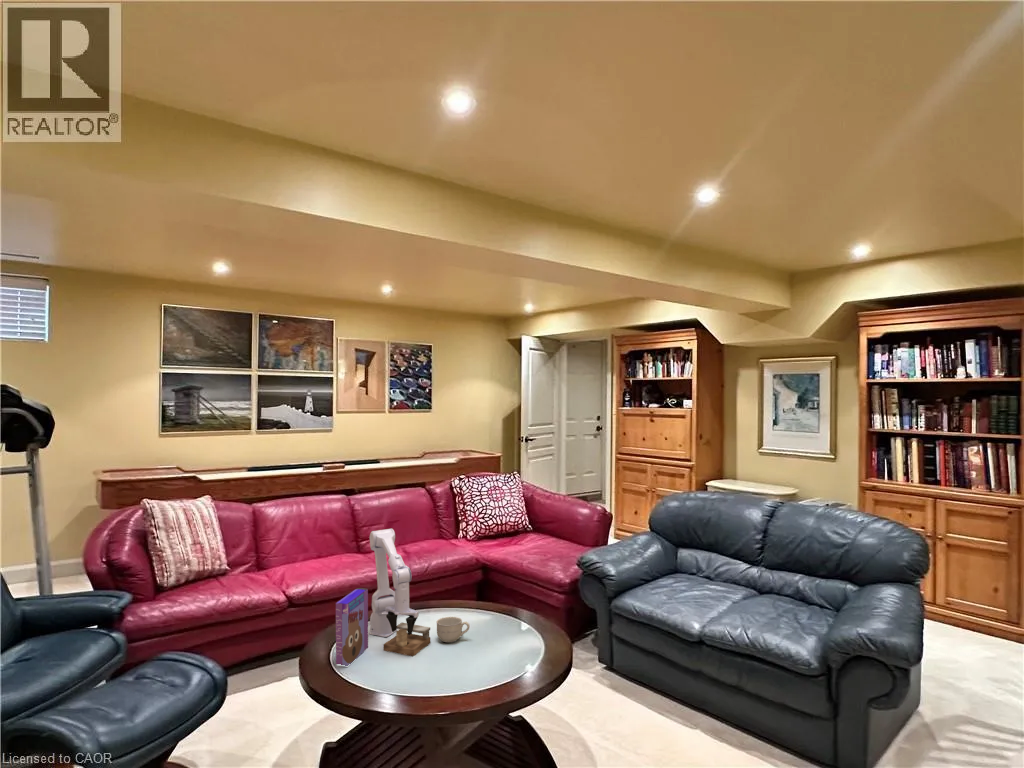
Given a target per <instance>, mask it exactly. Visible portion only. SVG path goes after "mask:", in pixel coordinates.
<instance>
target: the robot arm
mask: <svg viewBox="0 0 1024 768" xmlns="http://www.w3.org/2000/svg"><path fill="white" fill-rule="evenodd" d="M395 541H396V532H395V530H394V529H393V528H386V529H378V530H372V531H371V532H370V534H369V547H370V550H371V551H374V560H375V571H376V581H377V582H376V583H377V589H376V590H375V592H374V593H373V594H372V596H371V609H372V612H371V614H370V617H369V631H368V635H373V636H378V637H383V638H388V637H390V636H391V635H393V634H394V633H396V632H397V631H398V629H397V624H398V623H397V622H398V616H400V615H402V616H407V617H406V618H405V623H407V627H408V631H407V633H408V635H410V634H413V632H412V631H413V627H414V625H416V621H417V619H418V617H419V611H418V610H415V609H414V608H413V609H412V608H410V582H411V581H412V571H411V569H410V567H409V566H408V565H406V564H405V562H404V560H403V557H402V555H401V554H398V551H397V549H396V545H395V543H396V542H395ZM387 557H388V560H387ZM388 565H389V567H390V568H389V569H390V570H391V572H392V582H393V588H394V590H393V589H391V588H390V582H389V571H388V570H389V569H388Z"/></svg>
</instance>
